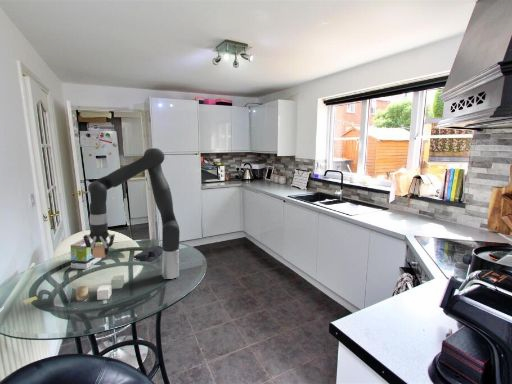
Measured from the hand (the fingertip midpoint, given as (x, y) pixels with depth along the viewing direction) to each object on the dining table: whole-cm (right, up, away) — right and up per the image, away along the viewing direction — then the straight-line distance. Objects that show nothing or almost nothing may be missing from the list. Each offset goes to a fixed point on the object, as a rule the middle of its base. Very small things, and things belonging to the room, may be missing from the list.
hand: (100, 254), depth 135 cm
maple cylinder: (-7, -21, -3) cm, 22 cm away
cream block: (+3, -21, -1) cm, 21 cm away
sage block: (+4, -19, +10) cm, 22 cm away
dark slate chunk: (+5, -13, +52) cm, 54 cm away
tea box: (-27, -14, +33) cm, 45 cm away
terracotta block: (0, -1, 0) cm, 1 cm away
